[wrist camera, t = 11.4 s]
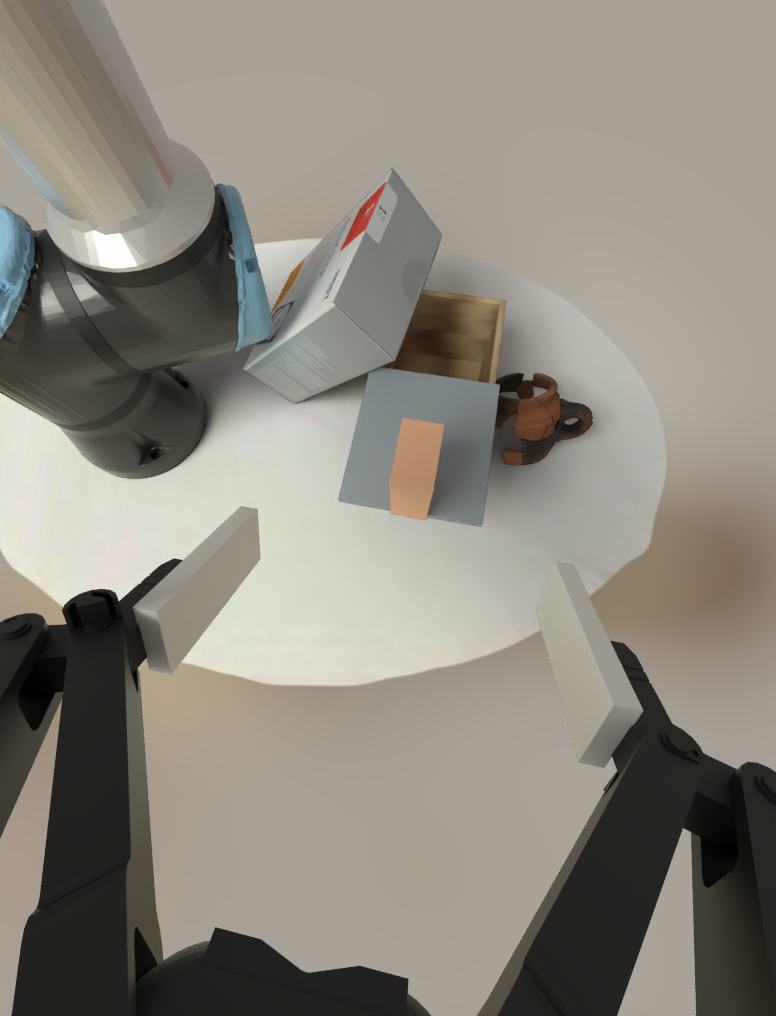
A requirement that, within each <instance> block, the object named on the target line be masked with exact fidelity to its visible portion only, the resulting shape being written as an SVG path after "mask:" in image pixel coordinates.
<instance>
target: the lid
mask: <svg viewBox="0 0 776 1016" xmlns="http://www.w3.org/2000/svg"><path fill="white" fill-rule="evenodd" d="M499 389H500V385H498V384H491V383H484V382H478V381H471V380H464V379H457V378H450V377H444V376H437V375H430V374H423V373H417V372H410V371H403V370H396V369H390V368H383V367H378V368H376V369H374V370H371V371H369V375H368V379H367V383H366V387H365V391H364V396H363V400H362V404H361V408H360V412H359V416H358V420H357V424H356V428H355V432H354V437H353V441H352V445H351V449H350V453H349V457H348V461H347V465H346V469H345V473H344V477H343V482H342V486H341V490H340V494H339V498H338V499H339V501H340V502H344V503H350V504H355V505H361V506H366V507H372V508H378V509H383V510H389V511H391V514H394V515H400V516H406V517H411V518H417V519H422V520H426V517H428V518H434V519H439V520H445V521H451V522H456V523H462V524H467V525H473V526H479V527H481V526H482V525H483V517H484V509H485V501H486V493H487V485H488V477H489V469H490V461H491V453H492V445H493V437H494V429H495V421H496V413H497V405H498V397H499Z"/></svg>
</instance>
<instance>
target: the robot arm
mask: <svg viewBox="0 0 776 1016" xmlns="http://www.w3.org/2000/svg"><path fill="white" fill-rule="evenodd" d="M0 146H1V147H2V148H3V149H4V150H5V151H6V153H7V154H8V155H9V156H10V157H11V158H12V159H13V161H14V162H15V163H16V164H17V165H18V166H19V168H20V169H21V170H22V171H23V172H24V173H25V175H26V176H27V177H28V178H29V179H30V180H31V181H32V183H33V184H34V185H35V186H36V187H37V188H38V190H39V191H40V192H41V193H42V194H43V195H44V197H45V198H44V209H43V214H44V222H45V225H46V229H44V230H39V231H34V230H32V229H31V226H30V225H29V224H28V222H27V221H26V220H25V219H24V218H23V217H21V216H20V215H17V214H16V213H14V212H13V211H12V210H11V209H9V208H8V207H5V206H3V205H0V393H2V394H3V395H5V396H7V397H9V398H10V399H12V400H14V401H16V402H17V403H19V404H21V405H23V406H25V407H26V408H28V409H30V410H32V411H33V412H35V413H37V414H39V415H40V416H42V417H44V418H46V419H48V420H49V421H51V422H53V423H54V424H56V425H58V426H59V427H60V428H61V429H62V430H63V432H64V433H65V434H66V435H67V437H68V438H69V439H70V440H71V441H72V443H73V444H74V445H75V446H76V447H77V449H78V450H79V451H80V452H81V454H82V455H83V456H84V457H85V458H86V459H87V460H88V461H90V462H91V463H92V464H94V465H95V466H97V467H99V468H101V469H102V470H104V471H106V472H108V473H110V474H112V475H115V476H118V477H122V478H129V479H140V478H147V477H152V476H155V475H158V474H161V473H163V472H165V471H167V470H169V469H171V468H173V467H174V466H176V465H177V464H179V463H180V462H181V461H183V460H184V459H185V458H186V457H187V456H188V455H189V454H190V453H191V452H192V450H193V449H194V448H195V446H196V445H197V443H198V442H199V440H200V438H201V436H202V433H203V430H204V427H205V422H206V408H205V404H204V401H203V398H202V396H201V394H200V393H199V391H198V390H197V389H196V387H195V386H194V385H193V384H192V383H191V382H190V380H189V379H188V378H187V377H186V376H185V375H183V374H182V373H181V372H180V371H178V370H177V369H175V368H173V367H174V366H178V365H182V364H186V363H190V362H194V361H198V360H201V359H205V358H209V357H213V356H217V355H221V354H225V353H229V352H233V351H235V352H236V351H239V350H240V349H241V348H242V347H245V346H248V345H251V344H254V343H257V342H260V341H262V340H264V339H265V338H267V337H268V336H269V334H270V332H271V329H272V318H271V312H270V308H269V303H268V299H267V295H266V291H265V287H264V283H263V279H262V275H261V271H260V268H259V265H258V260H257V256H256V252H255V248H254V244H253V240H252V236H251V232H250V229H249V225H248V221H247V218H246V214H245V211H244V207H243V204H242V201H241V197H240V195H239V192H238V190H237V189H236V188H234V187H233V186H230V185H226V186H225V185H223V184H220V183H219V184H217V185H216V186H215V185H214V183H213V181H212V178H211V176H210V174H209V172H208V170H207V168H206V167H205V165H204V164H203V162H202V161H201V159H200V158H199V157H198V156H197V155H196V154H195V153H194V152H192V151H191V150H189V149H188V148H187V147H185V146H183V145H181V144H179V143H177V142H175V141H173V140H171V139H169V138H168V136H167V134H166V132H165V130H164V128H163V125H162V124H161V121H160V119H159V117H158V115H157V113H156V111H155V109H154V107H153V105H152V103H151V100H150V98H149V96H148V94H147V92H146V90H145V88H144V86H143V84H142V82H141V80H140V78H139V76H138V73H137V71H136V69H135V67H134V65H133V63H132V61H131V59H130V57H129V55H128V53H127V50H126V48H125V47H124V44H123V42H122V40H121V39H120V36H119V34H118V32H117V30H116V28H115V26H114V23H113V21H112V19H111V17H110V15H109V13H108V11H107V9H106V7H105V5H104V3H103V1H102V0H0ZM259 560H260V544H259V526H258V509H254V508H248V507H243V506H241V507H240V508H239V509H238V510H237V511H236V512H235V513H233V514H232V515H231V516H230V517H229V518H228V519H227V520H226V521H225V522H224V523H223V524H222V525H221V526H219V527H218V528H217V529H216V530H215V531H214V532H213V533H212V534H211V535H210V536H209V537H208V538H207V539H206V540H204V541H203V542H202V543H201V544H200V545H199V546H198V547H197V548H196V549H195V550H194V551H193V552H192V553H190V554H189V555H188V556H187V557H186V558H185V559H184V560H179V559H172V560H170V561H168V562H166V563H164V564H162V565H160V566H159V567H158V568H157V569H155V570H154V571H153V572H152V573H151V574H150V576H147V577H146V578H145V579H144V580H143V581H142V582H141V584H138V585H137V586H136V587H135V588H134V589H133V590H131V591H130V592H129V593H128V594H127V595H126V596H125V597H123V598H122V599H121V600H120V601H118V598H117V596H116V593H115V592H113V591H111V590H106V589H97V590H90V591H87V592H84V593H81V594H79V595H77V596H75V597H74V598H72V599H71V600H69V601H68V602H67V603H66V604H65V605H64V607H63V609H62V612H63V615H64V617H65V620H66V623H67V624H65V625H47V624H46V622H45V619H44V618H43V616H41V615H39V614H34V613H33V614H31V613H30V614H28V613H27V614H22V615H17V616H13V617H11V618H8V619H6V620H4V621H2V622H0V837H1V835H2V833H3V831H4V828H5V826H6V824H7V822H8V819H9V817H10V815H11V813H12V810H13V808H14V806H15V804H16V801H17V799H18V797H19V795H20V792H21V790H22V788H23V785H24V783H25V781H26V779H27V776H28V774H29V772H30V770H31V767H32V765H33V763H34V761H35V758H36V756H37V754H38V752H39V749H40V747H41V745H42V743H43V740H44V738H45V736H46V733H47V731H48V729H49V727H50V724H51V722H52V720H53V718H54V715H55V713H56V711H57V709H58V706H59V704H60V702H61V699H62V706H61V715H60V724H59V733H58V741H57V750H56V759H55V768H54V777H53V785H52V795H51V804H50V812H49V821H48V830H47V838H46V847H45V856H44V865H43V874H42V882H41V892H40V898H39V903H38V906H37V909H36V910H35V911H34V912H33V914H31V915H30V916H29V918H28V920H27V923H26V926H25V928H24V933H23V938H22V943H21V949H20V957H19V965H18V972H17V980H16V987H15V995H14V1002H13V1010H12V1016H431V1015H430V1014H429V1012H428V1011H427V1010H426V1009H425V1008H424V1007H423V1006H422V1005H421V1004H420V1003H419V1002H418V1001H417V1000H416V999H414V998H413V997H412V996H410V995H409V994H408V979H407V978H403V977H400V976H395V975H392V974H388V973H385V972H381V971H377V970H373V969H370V968H366V967H362V966H356V967H348V968H341V969H334V970H326V971H319V972H312V973H307V972H304V971H302V970H300V969H299V968H298V967H296V966H295V965H294V964H292V963H291V962H290V961H288V960H287V959H286V958H285V957H283V956H282V955H281V954H279V953H278V952H277V951H276V950H274V949H273V948H272V947H270V946H269V945H268V944H266V943H265V942H264V941H263V940H261V939H258V938H254V937H250V936H246V935H242V934H238V933H235V932H231V931H228V930H224V929H220V928H215V930H214V932H213V935H212V938H211V940H210V941H207V942H201V943H198V944H195V945H192V946H189V947H187V948H185V949H183V950H181V951H178V952H177V953H175V954H173V955H172V956H170V957H169V958H167V959H165V960H164V961H163V951H162V941H161V935H160V928H159V923H158V918H157V912H156V903H155V889H154V874H153V860H152V845H151V831H150V817H149V802H148V788H147V773H146V759H145V744H144V730H143V715H142V702H141V687H140V673H139V670H138V667H139V666H140V664H141V663H142V662H143V661H144V660H145V659H146V658H147V661H148V665H149V669H150V670H153V671H158V672H162V673H167V674H172V673H173V672H174V670H175V669H176V668H177V667H178V665H179V664H180V663H181V661H182V660H183V659H184V657H185V656H186V655H187V654H188V652H189V651H190V650H191V648H192V647H193V646H194V644H195V643H196V642H197V641H198V639H199V638H200V637H201V635H202V634H203V633H204V631H205V630H206V629H207V628H208V626H209V625H210V624H211V622H212V621H213V620H214V619H215V617H216V616H217V615H218V613H219V612H220V611H221V609H222V608H223V607H224V606H225V604H226V603H227V602H228V600H229V599H230V598H231V596H232V595H233V594H234V593H235V591H236V590H237V589H238V587H239V586H240V585H241V583H242V582H243V581H244V580H245V578H246V577H247V576H248V574H249V573H250V572H251V570H252V569H253V568H254V567H255V565H256V564H257V563H258V561H259ZM536 613H537V617H538V620H539V624H540V627H541V631H542V634H543V638H544V642H545V645H546V649H547V652H548V656H549V660H550V663H551V667H552V670H553V673H554V677H555V681H556V684H557V688H558V692H559V695H560V699H561V702H562V706H563V710H564V713H565V717H566V720H567V724H568V727H569V731H570V735H571V738H572V742H573V745H574V749H575V752H576V756H577V759H578V762H580V763H585V764H589V765H593V766H599V767H603V768H604V767H605V766H606V764H607V763H608V761H609V760H610V758H611V757H613V760H614V763H615V765H616V768H617V772H616V773H615V774H614V776H613V777H612V779H611V780H610V781H609V783H608V784H607V786H606V787H605V788H604V791H605V792H604V793H603V795H602V797H601V799H600V801H599V802H598V804H597V806H596V808H595V810H594V811H593V813H592V815H591V817H590V818H589V820H588V822H587V824H586V825H585V827H584V829H583V831H582V833H581V834H580V836H579V838H578V840H577V841H576V843H575V845H574V847H573V849H572V850H571V852H570V854H569V856H568V857H567V859H566V861H565V863H564V865H563V866H562V868H561V870H560V872H559V874H558V875H557V877H556V879H555V881H554V882H553V884H552V886H551V888H550V889H549V891H548V893H547V895H546V896H545V898H544V900H543V902H542V904H541V905H540V907H539V909H538V911H537V912H536V914H535V916H534V918H533V920H532V921H531V923H530V925H529V927H528V928H527V930H526V932H525V934H524V936H523V937H522V939H521V941H520V943H519V945H518V946H517V948H516V950H515V951H514V953H513V955H512V957H511V959H510V961H509V962H508V964H507V966H506V967H505V969H504V971H503V973H502V975H501V976H500V978H499V980H498V982H497V983H496V985H495V987H494V989H493V991H492V992H491V994H490V996H489V998H488V999H487V1001H486V1002H485V1004H484V1006H483V1007H482V1009H481V1010H480V1012H479V1013H478V1015H477V1016H617V1014H618V1011H619V1008H620V1005H621V1003H622V1000H623V997H624V994H625V991H626V989H627V986H628V983H629V980H630V977H631V974H632V971H633V969H634V966H635V963H636V960H637V957H638V954H639V952H640V949H641V946H642V943H643V940H644V937H645V934H646V932H647V929H648V926H649V923H650V920H651V917H652V915H653V912H654V909H655V906H656V903H657V900H658V897H659V894H660V892H661V889H662V886H663V883H664V880H665V877H666V875H667V872H668V869H669V866H670V863H671V860H672V858H673V855H674V852H675V849H676V846H677V843H678V841H679V837H680V835H681V832H682V829H683V828H684V829H686V830H688V831H690V832H691V844H692V845H691V848H692V881H693V882H692V883H693V917H694V918H693V919H694V950H695V951H694V954H695V985H696V986H695V988H696V1016H776V772H775V771H773V770H772V769H770V768H768V767H766V766H763V765H761V764H759V763H753V762H747V763H745V764H743V765H741V766H740V768H738V769H735V768H733V767H731V766H729V765H727V764H724V763H722V762H720V761H718V760H715V759H714V758H712V757H710V756H708V755H706V754H704V753H703V752H702V750H701V748H700V747H699V745H698V744H697V743H696V741H695V740H694V739H693V738H692V737H691V736H690V735H688V734H687V733H686V732H685V731H684V730H682V729H680V728H678V727H677V726H675V725H673V724H672V722H671V721H670V718H669V717H668V715H667V713H666V711H665V709H664V707H663V705H662V703H661V702H660V700H659V698H658V696H657V694H656V692H655V690H654V688H653V687H652V685H651V683H649V679H648V677H647V675H646V674H645V672H643V668H642V666H641V664H640V662H639V660H638V659H637V657H636V655H634V653H633V652H632V651H631V650H630V649H629V648H628V647H627V646H626V645H625V644H624V643H620V642H614V641H610V640H609V638H608V636H607V634H606V631H605V629H604V628H603V625H602V623H601V621H600V619H599V617H598V615H597V613H596V611H595V608H594V606H593V605H592V602H591V600H590V598H589V596H588V594H587V592H586V590H585V588H584V585H583V583H582V581H581V579H580V577H579V575H578V573H577V571H576V569H575V567H574V565H571V564H565V563H560V562H555V563H554V566H553V568H552V571H551V573H550V576H549V578H548V581H547V584H546V586H545V589H544V591H543V594H542V596H541V599H540V601H539V604H538V606H537V609H536Z"/></svg>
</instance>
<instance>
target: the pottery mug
mask: <svg viewBox="0 0 776 1016" xmlns="http://www.w3.org/2000/svg"><path fill="white" fill-rule="evenodd" d="M523 376H524V374H523V373H515V374H510V375H506V376H504V377H501V378H499V379H497V380H496V382H495V384H498V385H500V389H499V393H502V392H517V395H518V397H519V399H520V400H517V399H509V398H505V397H502V396H500V395H499V397H498V405H497V413H496V421H495V427H496V428H498V429H500V428H501V426H502V424H503V422H504V421H506V420H507V419H508V418H509V417H510V416H513V415H514V414H516V419H515V423H514V427H513V431H514V434H515V436H517V437H519V438H521V443H522V449H521V450H512V449H505V450H504V462H505V463H506V464H510V465H527V464H533V463H535V462H538V461H540V460H542V459H543V458H544V457H545V456H546V455H547V454H548V452H549V450H550V449H551V448H552V447H553V445H554V444H555V442H559V441H561V440H566V439H572V438H575V437H578V436H580V435H582V434H583V433H585V432H586V431H587V430H588V429H589V428H590V426H591V425H592V424H593V422H592V419H593V416H592V412H591V410H590V409H589V408H588V407H587V406H585V405H583V404H579V403H573V402H568V401H566V400H564V399H560V398H559V396H560V395H559V394H558V393H557V388H558V385H557V383H556V381H555V380H554V379H552V378H551V377H549V376H546V375H543V374H539V373H535V374H534V375H533V380H526V381H522V379H523ZM533 387H540V388H544V389H547V390H548V391H547V392H545V393H544V394H542V395H539V396H537V397H535V398H534V397H533V395H534V392H533ZM532 397H533V398H532ZM571 418H579V420H578V421H577V422H575V423H573V424H571V425H567V424H565V423H564V421H565V420H567V419H571ZM554 422H556V424H554Z"/></svg>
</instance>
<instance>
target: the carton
mask: <svg viewBox="0 0 776 1016" xmlns="http://www.w3.org/2000/svg"><path fill="white" fill-rule="evenodd" d="M505 305H506V301H505V300H497V299H490V298H482V297H474V296H467V295H459V294H451V293H444V292H436V291H428V290H422V292H421V295H420V297H419V300H418V303H417V305H416V308H415V311H414V313H413V316H412V319H411V321H410V324H409V327H408V330H407V332H406V335H405V338H404V340H403V343H402V346H401V348H400V351H399V354H398V356H397V358H396V360H394V361H392V362H390V363H387V364H385V365H383V366H380V367H383V368H390V369H396V370H403V371H410V372H417V373H423V374H430V375H437V376H444V377H450V378H457V379H464V380H471V381H478V382H484V383H491V384H495V382H496V375H497V367H498V359H499V351H500V344H501V336H502V328H503V320H504V313H505Z"/></svg>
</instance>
